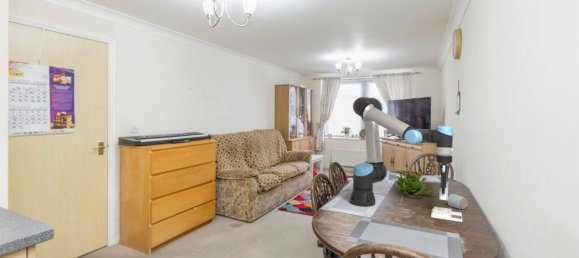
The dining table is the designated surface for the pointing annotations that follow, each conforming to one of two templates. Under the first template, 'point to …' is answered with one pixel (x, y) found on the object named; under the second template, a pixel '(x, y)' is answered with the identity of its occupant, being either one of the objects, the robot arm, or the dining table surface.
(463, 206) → the ceramic mug
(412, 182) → the potted flower
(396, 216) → the dining table surface
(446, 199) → the block
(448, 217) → the outlet plate
